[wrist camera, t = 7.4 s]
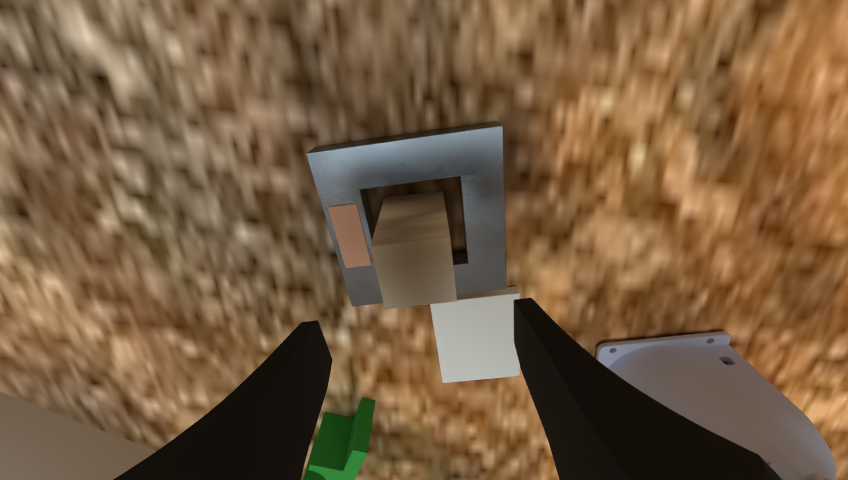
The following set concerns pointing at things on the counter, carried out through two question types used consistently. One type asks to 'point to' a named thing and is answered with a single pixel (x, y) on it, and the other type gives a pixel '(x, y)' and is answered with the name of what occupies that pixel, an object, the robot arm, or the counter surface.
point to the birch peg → (414, 251)
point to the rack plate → (405, 163)
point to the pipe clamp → (341, 445)
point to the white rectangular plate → (477, 336)
